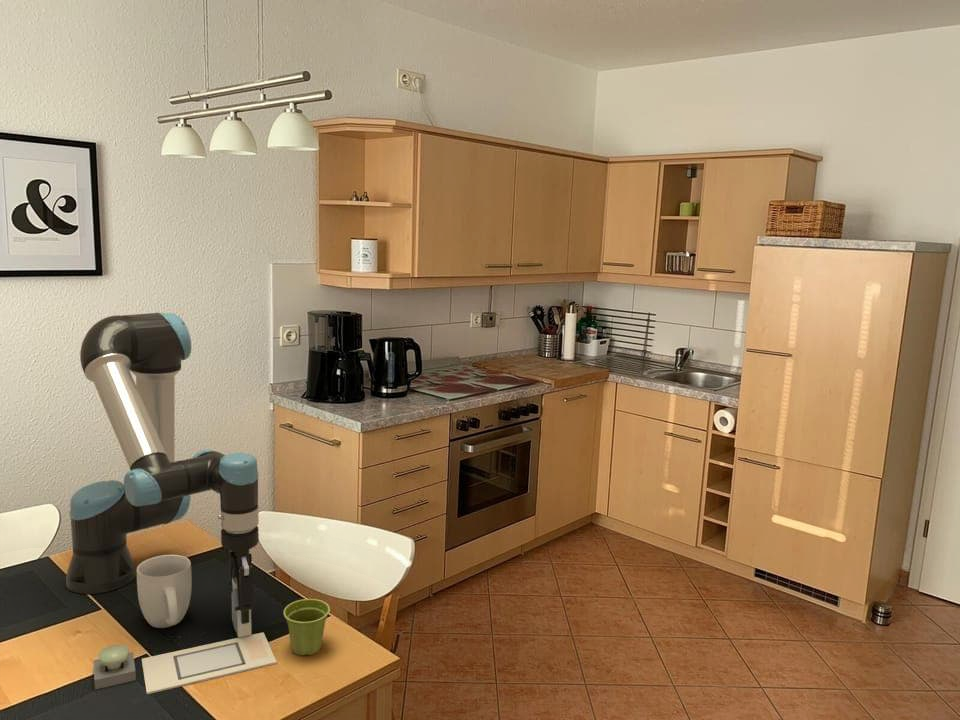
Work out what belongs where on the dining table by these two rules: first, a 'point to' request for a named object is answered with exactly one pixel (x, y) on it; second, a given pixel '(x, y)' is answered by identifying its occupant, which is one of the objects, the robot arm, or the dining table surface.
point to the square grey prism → (235, 603)
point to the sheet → (206, 662)
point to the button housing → (114, 673)
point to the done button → (113, 656)
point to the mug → (164, 589)
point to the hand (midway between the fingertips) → (241, 627)
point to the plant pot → (306, 625)
